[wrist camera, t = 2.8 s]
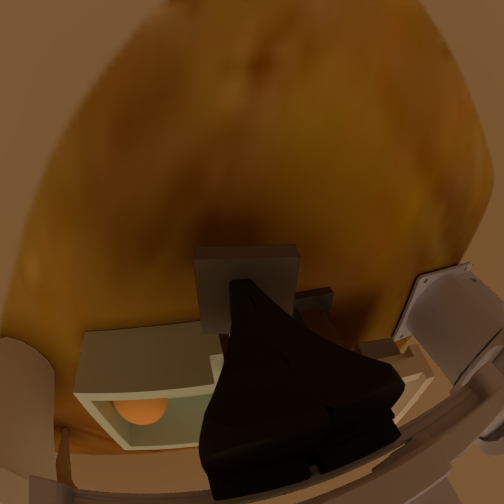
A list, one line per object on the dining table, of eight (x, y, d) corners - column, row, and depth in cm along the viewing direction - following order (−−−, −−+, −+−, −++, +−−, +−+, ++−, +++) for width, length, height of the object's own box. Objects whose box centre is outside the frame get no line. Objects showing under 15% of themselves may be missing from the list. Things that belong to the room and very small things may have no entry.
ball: (139, 418, 13) (92, 390, 15) (156, 442, 15) (113, 417, 17) (171, 373, 17) (125, 352, 18) (181, 402, 19) (140, 382, 20)
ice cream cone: (76, 440, 23) (80, 545, 11) (37, 422, 20) (33, 533, 8) (96, 431, 23) (103, 551, 10) (53, 411, 20) (49, 540, 7)
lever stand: (330, 287, 19) (371, 342, 14) (307, 379, 25) (329, 425, 20) (275, 296, 18) (308, 361, 14) (266, 388, 24) (285, 438, 19)
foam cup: (86, 397, 19) (86, 531, 9) (12, 390, 17) (-4, 502, 6) (42, 322, 15) (5, 504, 4) (-36, 319, 12) (-83, 451, 2)
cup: (214, 318, 18) (229, 381, 14) (223, 391, 22) (235, 440, 18) (85, 331, 16) (72, 393, 12) (124, 400, 20) (124, 449, 16)
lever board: (442, 225, 14) (495, 271, 10) (375, 381, 22) (393, 426, 17) (200, 225, 13) (186, 293, 9) (220, 399, 21) (221, 453, 16)
